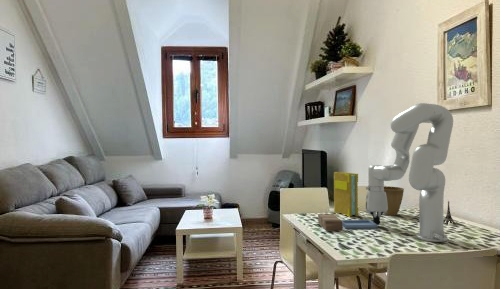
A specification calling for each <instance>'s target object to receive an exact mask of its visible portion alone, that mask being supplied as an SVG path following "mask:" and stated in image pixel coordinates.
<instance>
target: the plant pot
mask: <svg viewBox="0 0 500 289" xmlns="http://www.w3.org/2000/svg"><path fill="white" fill-rule="evenodd" d="M384 192H386V196H387V204H388V210H387V213H385V214H384V216H385V215H386V216H390V217H391V216H393V217H394V216H397V215H398V214H399V211H400V208H401V206H402V205H401V204H402V202H403V196H404V192H405V188H404V187H398V186H387V185H384Z"/></svg>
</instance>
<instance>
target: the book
mask: <svg viewBox="0 0 500 289" xmlns="http://www.w3.org/2000/svg"><path fill="white" fill-rule="evenodd" d="M358 184H359V173H351V172H345V171H334V172H333V200H334V201H333V205H334V206H333V212H334V213H335V214H338V213H342V214H345V215H347V216H352V217H353V215H355V216H354V217H359V207H358V204H359V201H358V199H359V198H358V195H359V193H358V191H359V188H358ZM345 215H344V216H345ZM347 216H346V217H347Z"/></svg>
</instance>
